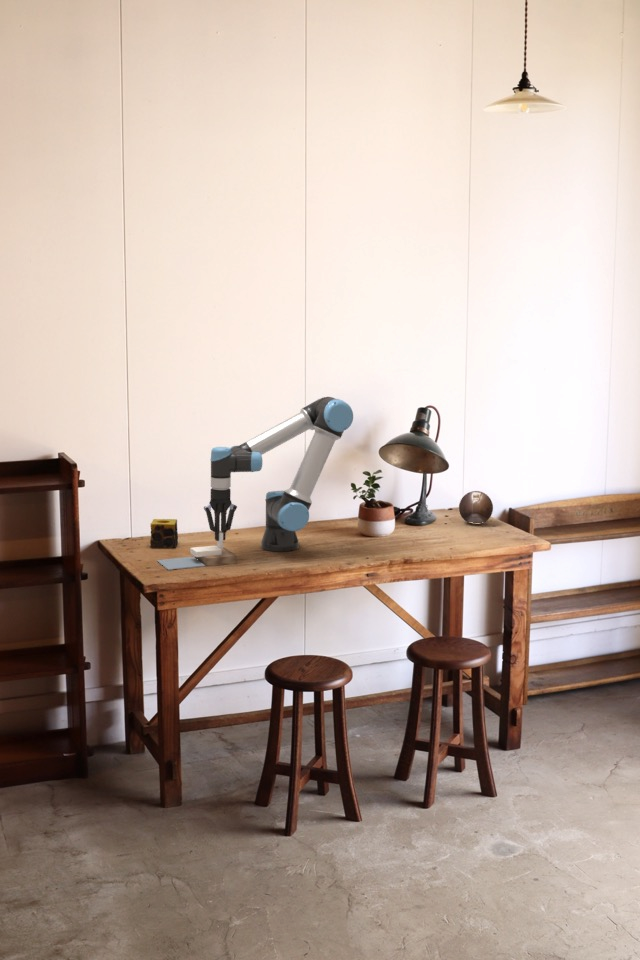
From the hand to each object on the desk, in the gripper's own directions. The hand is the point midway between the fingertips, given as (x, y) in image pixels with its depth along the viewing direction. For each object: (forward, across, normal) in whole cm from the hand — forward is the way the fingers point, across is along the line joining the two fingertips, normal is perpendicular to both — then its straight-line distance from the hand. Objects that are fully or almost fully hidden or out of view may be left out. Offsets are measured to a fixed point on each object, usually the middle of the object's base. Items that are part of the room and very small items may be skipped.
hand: (220, 548), depth 405 cm
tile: (+2, +6, 0) cm, 6 cm away
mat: (+5, +16, 0) cm, 16 cm away
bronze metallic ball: (+3, -127, -17) cm, 128 cm away
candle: (+5, +13, -30) cm, 33 cm away
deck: (+5, +2, 0) cm, 5 cm away
